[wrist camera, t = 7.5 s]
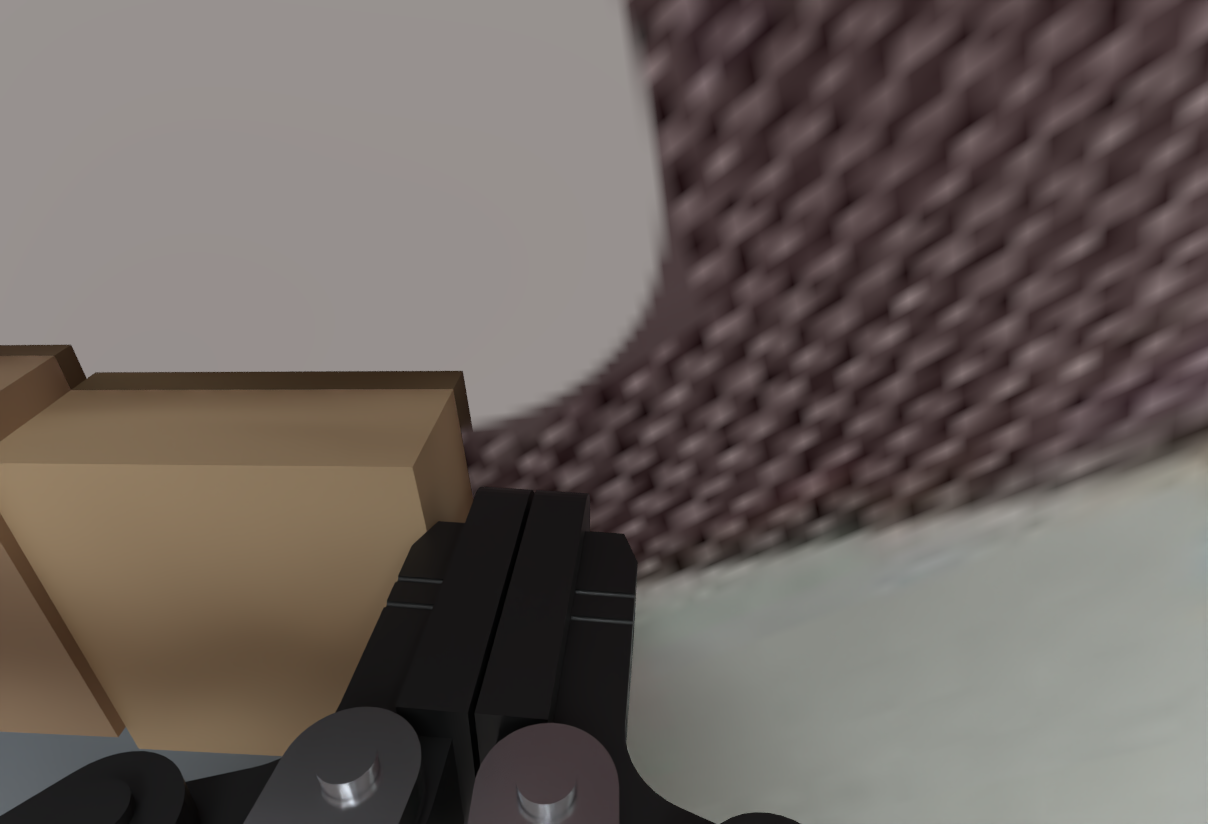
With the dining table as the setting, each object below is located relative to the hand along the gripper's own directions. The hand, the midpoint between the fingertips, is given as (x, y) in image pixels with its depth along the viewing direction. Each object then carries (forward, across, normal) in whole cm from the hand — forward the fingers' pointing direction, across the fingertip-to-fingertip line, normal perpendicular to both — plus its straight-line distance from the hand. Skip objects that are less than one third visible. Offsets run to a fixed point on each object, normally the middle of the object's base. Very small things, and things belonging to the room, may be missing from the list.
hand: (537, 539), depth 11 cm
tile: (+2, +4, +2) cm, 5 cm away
